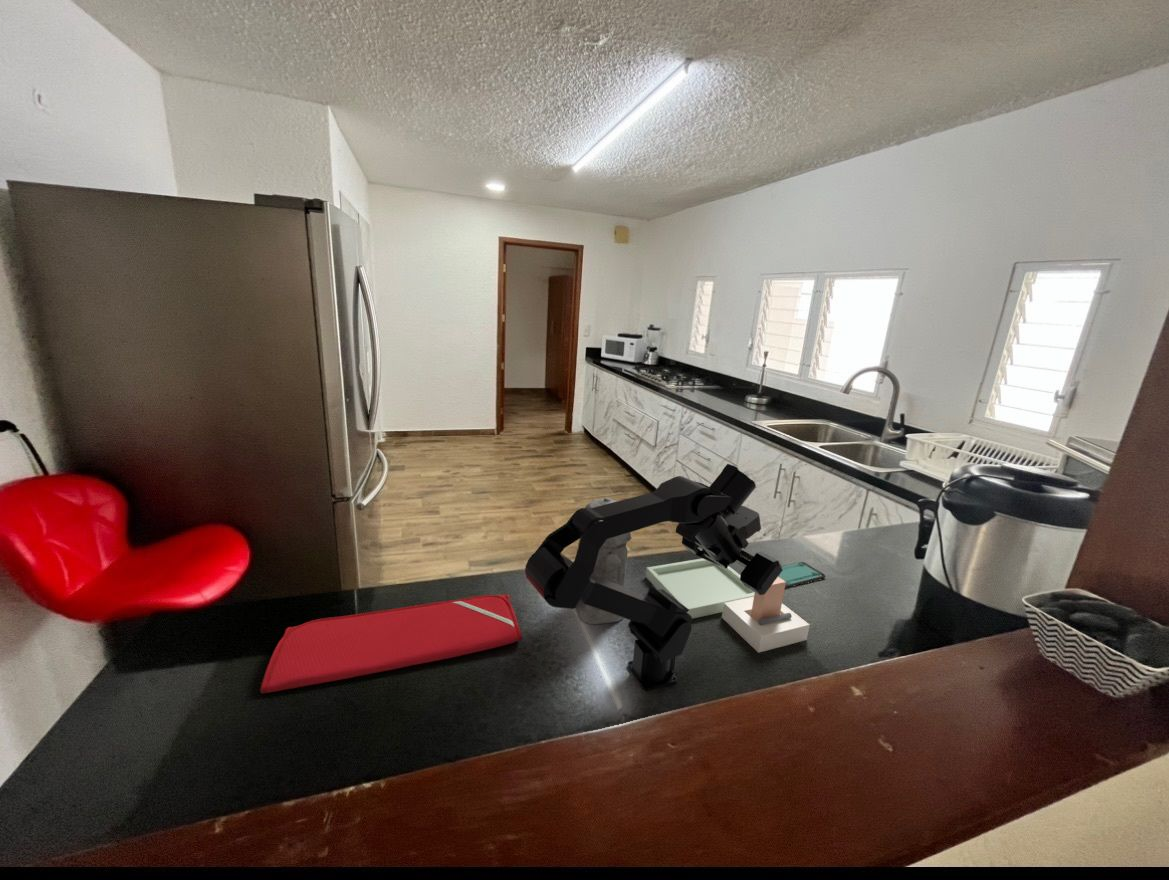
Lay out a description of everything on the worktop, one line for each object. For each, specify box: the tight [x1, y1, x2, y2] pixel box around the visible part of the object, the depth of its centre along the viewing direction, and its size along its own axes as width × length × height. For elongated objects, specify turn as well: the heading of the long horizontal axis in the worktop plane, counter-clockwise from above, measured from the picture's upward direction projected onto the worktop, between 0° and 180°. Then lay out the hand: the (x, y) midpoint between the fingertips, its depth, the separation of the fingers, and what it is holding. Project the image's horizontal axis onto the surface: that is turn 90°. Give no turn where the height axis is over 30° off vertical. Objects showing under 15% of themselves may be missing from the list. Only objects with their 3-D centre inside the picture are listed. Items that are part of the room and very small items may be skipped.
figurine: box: [574, 497, 632, 625], centre depth 94 cm, size 10×14×25 cm
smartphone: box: [778, 561, 826, 589], centre depth 114 cm, size 7×1×15 cm
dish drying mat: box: [260, 594, 523, 695], centre depth 84 cm, size 16×41×4 cm, turn 109°
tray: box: [645, 558, 755, 620], centre depth 106 cm, size 20×17×2 cm
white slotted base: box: [721, 597, 811, 653], centre depth 93 cm, size 12×11×4 cm
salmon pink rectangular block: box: [751, 577, 786, 623], centre depth 92 cm, size 5×2×11 cm, turn 111°
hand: (744, 576), depth 87 cm, fingers open, 9 cm apart
